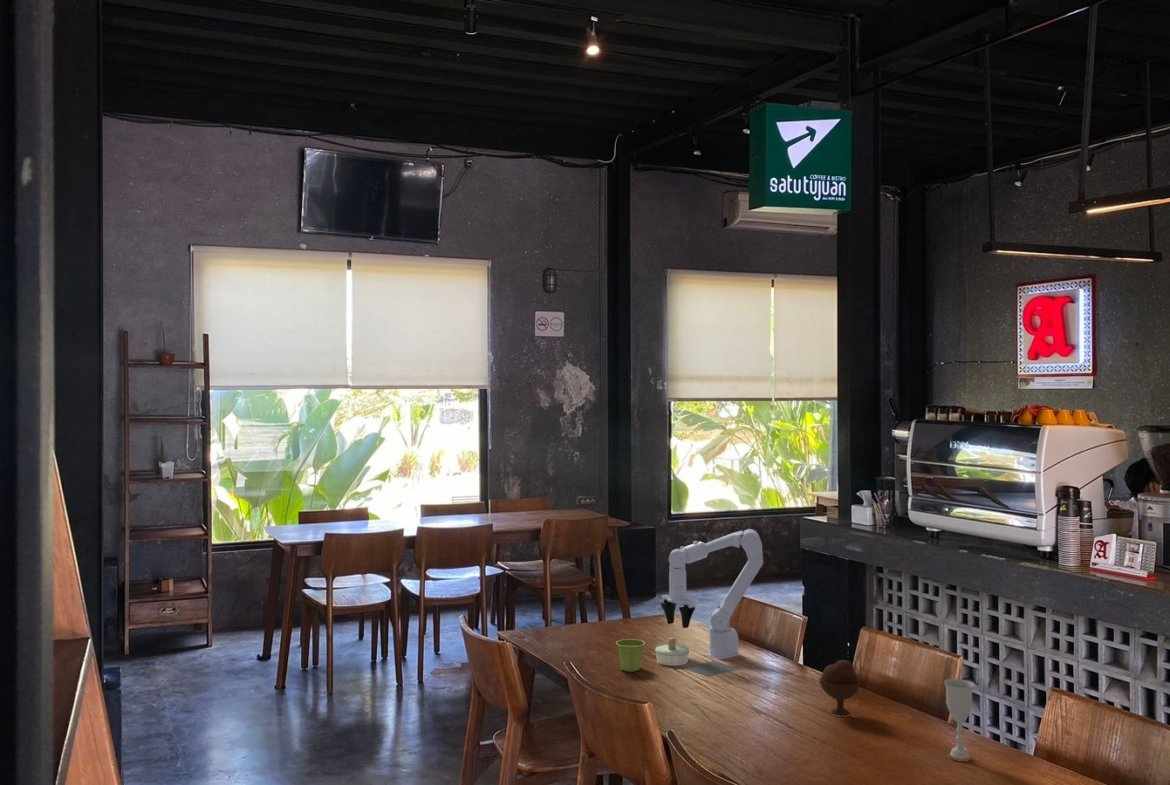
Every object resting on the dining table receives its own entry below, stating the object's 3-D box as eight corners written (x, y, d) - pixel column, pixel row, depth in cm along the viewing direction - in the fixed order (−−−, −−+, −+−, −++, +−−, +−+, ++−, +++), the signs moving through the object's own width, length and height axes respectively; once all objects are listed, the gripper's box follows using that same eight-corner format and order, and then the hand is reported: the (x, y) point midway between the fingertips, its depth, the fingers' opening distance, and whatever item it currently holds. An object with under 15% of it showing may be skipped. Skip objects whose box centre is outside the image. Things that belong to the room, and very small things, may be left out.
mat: (713, 662, 326) (713, 660, 326) (740, 669, 316) (740, 668, 316) (681, 669, 318) (681, 668, 318) (708, 677, 308) (708, 676, 308)
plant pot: (645, 665, 322) (645, 639, 322) (644, 673, 313) (644, 646, 313) (617, 665, 323) (616, 638, 323) (615, 673, 314) (614, 646, 314)
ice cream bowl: (861, 709, 275) (861, 655, 275) (859, 722, 265) (858, 666, 265) (822, 706, 279) (822, 652, 279) (818, 718, 268) (817, 662, 268)
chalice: (939, 753, 241) (938, 679, 241) (966, 752, 242) (965, 678, 242) (952, 764, 234) (952, 688, 234) (980, 763, 235) (979, 687, 235)
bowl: (673, 656, 333) (673, 646, 333) (694, 663, 325) (694, 652, 325) (650, 661, 327) (650, 650, 327) (671, 668, 319) (670, 657, 319)
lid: (675, 645, 333) (674, 632, 333) (695, 652, 324) (695, 639, 324) (648, 650, 327) (648, 637, 327) (669, 657, 318) (668, 644, 318)
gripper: (654, 583, 339) (655, 623, 339) (683, 590, 327) (683, 631, 327) (670, 581, 343) (670, 620, 343) (699, 587, 331) (699, 628, 331)
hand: (678, 625), depth 335 cm, fingers open, 7 cm apart
